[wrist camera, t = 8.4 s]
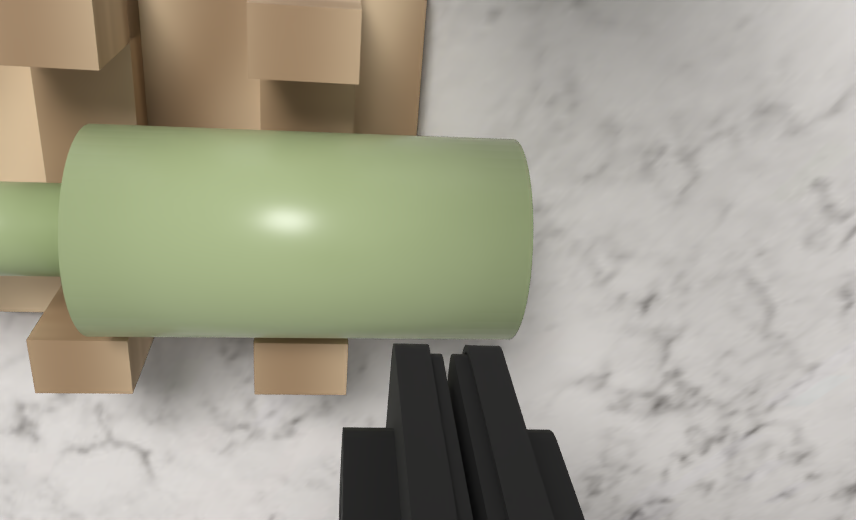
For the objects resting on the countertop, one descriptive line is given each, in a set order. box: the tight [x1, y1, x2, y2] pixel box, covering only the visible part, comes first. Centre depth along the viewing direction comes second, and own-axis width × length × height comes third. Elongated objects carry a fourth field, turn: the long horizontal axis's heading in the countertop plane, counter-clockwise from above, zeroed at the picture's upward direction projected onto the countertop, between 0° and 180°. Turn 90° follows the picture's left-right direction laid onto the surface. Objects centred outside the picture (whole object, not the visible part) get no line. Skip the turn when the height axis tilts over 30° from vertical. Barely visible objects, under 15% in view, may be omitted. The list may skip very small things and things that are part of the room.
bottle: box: [0, 124, 533, 339], centre depth 19 cm, size 5×5×16 cm
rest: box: [0, 0, 427, 395], centre depth 21 cm, size 12×10×5 cm
